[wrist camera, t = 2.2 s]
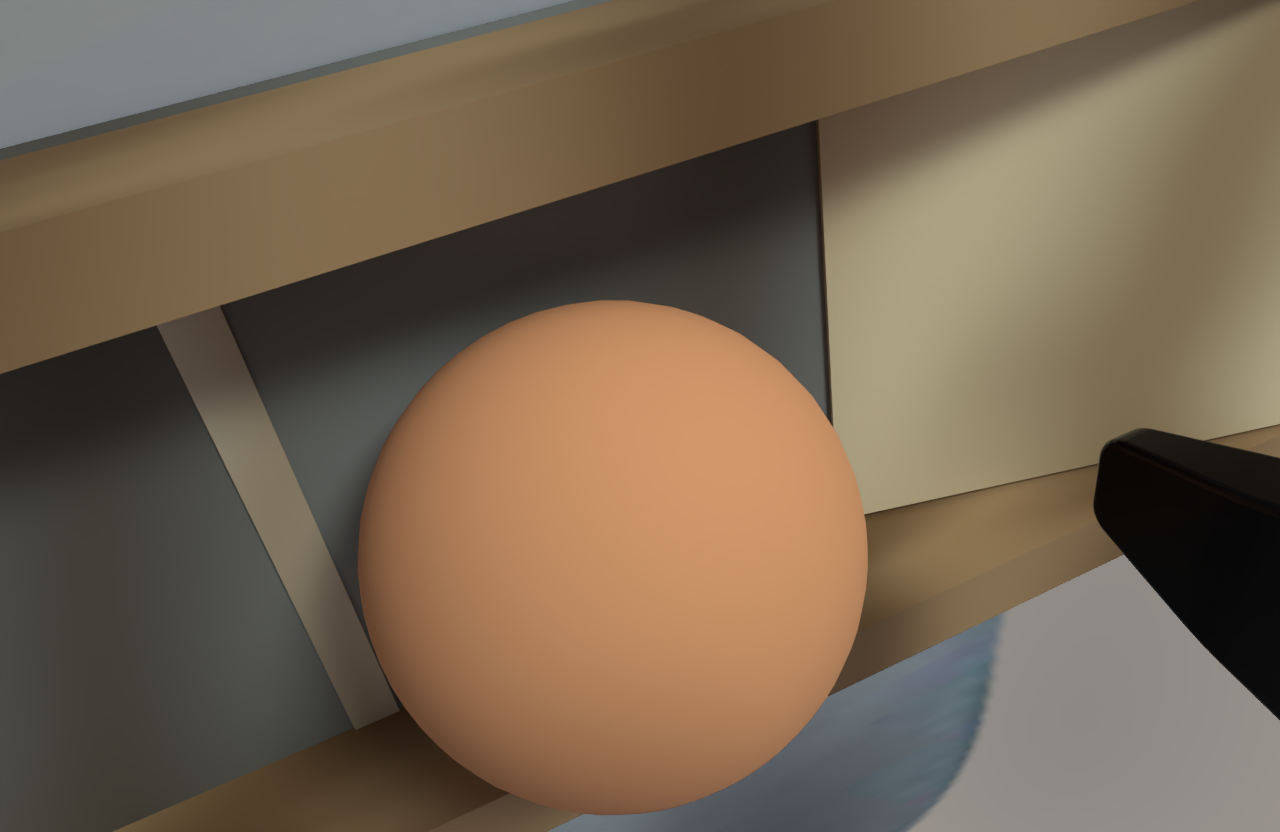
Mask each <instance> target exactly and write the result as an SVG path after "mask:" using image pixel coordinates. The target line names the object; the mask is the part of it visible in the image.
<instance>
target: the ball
mask: <svg viewBox="0 0 1280 832" xmlns="http://www.w3.org/2000/svg"><path fill="white" fill-rule="evenodd" d="M867 572H868V544H867V530H866V521H865V516H864V511H863V506H862V501H861V497H860V493H859V488H858V484H857V480H856V477H855V474H854V472H853V469H852V467H851V465H850V462H849V460H848V457H847V455H846V452H845V450H844V448H843V446H842V443H841V441H840V439H839V436H838V434H837V433H836V431H835V430H834V428H833V427H832V425H831V424H830V422H829V420H828V419H827V417H826V416H825V414H824V413H823V411H822V410H821V408H820V407H819V405H818V404H817V402H816V401H815V399H814V398H813V396H812V395H811V394H810V393H809V392H808V391H807V390H806V389H805V388H804V387H803V386H802V385H801V383H800V382H799V381H798V380H797V379H796V378H795V377H794V376H793V375H792V374H791V373H790V372H789V371H788V370H787V369H786V368H785V367H784V366H783V365H782V364H781V363H780V362H779V361H778V360H777V359H775V358H774V357H772V356H771V355H770V354H768V353H767V352H765V351H764V350H763V349H761V348H760V347H758V346H757V345H755V344H754V343H753V342H751V341H750V340H748V339H747V338H745V337H744V336H743V335H741V334H739V333H737V332H735V331H733V330H731V329H729V328H727V327H725V326H723V325H721V324H719V323H717V322H715V321H712V320H710V319H707V318H705V317H703V316H700V315H698V314H694V313H691V312H688V311H684V310H681V309H678V308H674V307H670V306H663V305H657V304H650V303H643V302H636V301H628V300H600V301H591V302H583V303H575V304H569V305H563V306H559V307H555V308H551V309H547V310H543V311H539V312H535V313H533V314H530V315H527V316H525V317H522V318H520V319H517V320H514V321H512V322H509V323H507V324H505V325H503V326H501V327H499V328H498V329H496V330H494V331H492V332H490V333H488V334H486V335H484V336H483V337H481V338H480V339H478V340H477V341H475V342H474V343H472V344H471V345H469V346H468V347H466V348H465V349H463V350H462V351H460V352H459V353H458V354H457V355H455V356H454V357H453V358H452V359H451V360H450V361H448V362H447V363H446V364H445V365H444V366H443V367H441V368H440V369H439V370H438V371H437V372H436V373H435V374H434V375H433V376H432V377H431V378H430V380H429V381H428V382H427V383H426V384H425V385H424V386H423V387H422V388H421V389H420V390H419V391H418V393H417V394H416V396H415V397H414V398H413V400H412V401H411V402H410V404H409V405H408V407H407V408H406V409H405V411H404V412H403V414H402V415H401V416H400V418H399V419H398V421H397V422H396V423H395V425H394V427H393V429H392V431H391V432H390V434H389V436H388V438H387V440H386V442H385V444H384V445H383V447H382V449H381V451H380V454H379V457H378V459H377V462H376V465H375V467H374V470H373V473H372V475H371V478H370V482H369V485H368V488H367V492H366V496H365V500H364V505H363V510H362V514H361V519H360V530H359V547H358V578H359V587H360V596H361V602H362V607H363V613H364V618H365V622H366V625H367V629H368V632H369V635H370V639H371V642H372V645H373V647H374V650H375V652H376V655H377V658H378V660H379V663H380V665H381V667H382V669H383V671H384V673H385V675H386V677H387V679H388V681H389V683H390V685H391V687H392V689H393V690H394V692H395V693H396V695H397V696H398V698H399V699H400V701H401V702H402V704H403V705H404V707H405V708H406V710H407V711H408V712H409V714H410V715H411V716H412V718H413V719H414V720H415V721H416V723H417V724H418V725H419V726H420V728H421V729H422V730H423V731H424V732H425V733H426V734H427V735H428V736H429V737H430V738H431V739H432V740H433V741H434V742H435V743H436V744H437V745H438V746H439V747H440V748H441V749H442V750H443V751H444V752H446V753H447V754H448V755H449V756H450V757H451V758H452V759H454V760H455V761H456V762H457V763H459V764H460V765H462V766H463V767H465V768H466V769H468V770H469V771H471V772H472V773H473V774H475V775H476V776H478V777H480V778H481V779H483V780H485V781H486V782H488V783H490V784H491V785H493V786H495V787H497V788H499V789H501V790H504V791H506V792H508V793H511V794H513V795H516V796H518V797H520V798H523V799H525V800H528V801H531V802H533V803H536V804H538V805H543V806H547V807H551V808H556V809H560V810H566V811H571V812H576V813H583V814H594V815H623V814H641V813H648V812H655V811H661V810H665V809H670V808H674V807H678V806H681V805H684V804H687V803H690V802H693V801H696V800H699V799H701V798H704V797H706V796H709V795H711V794H713V793H716V792H718V791H720V790H723V789H725V788H727V787H728V786H730V785H732V784H734V783H736V782H738V781H740V780H741V779H743V778H745V777H746V776H748V775H749V774H751V773H753V772H754V771H756V770H757V769H758V768H760V767H761V766H763V765H764V764H765V763H767V762H768V761H769V760H770V759H772V758H773V757H774V756H775V755H776V754H778V753H779V752H780V751H781V750H782V749H783V748H784V747H785V746H786V745H787V744H788V743H789V742H790V741H791V740H792V739H793V738H794V737H795V736H796V735H797V734H798V733H799V732H800V731H801V730H802V729H803V728H804V726H805V725H806V724H807V723H808V722H809V721H810V719H811V718H812V717H813V716H814V715H815V713H816V712H817V711H818V709H819V708H820V706H821V705H822V704H823V702H824V701H825V700H826V698H827V696H828V695H829V693H830V691H831V690H832V688H833V686H834V685H835V683H836V681H837V679H838V677H839V674H840V672H841V670H842V668H843V666H844V664H845V662H846V659H847V657H848V655H849V653H850V650H851V648H852V645H853V642H854V639H855V636H856V633H857V631H858V626H859V622H860V617H861V613H862V608H863V602H864V597H865V592H866V584H867Z"/></svg>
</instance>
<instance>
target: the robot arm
mask: <svg viewBox="0 0 1280 832" xmlns="http://www.w3.org/2000/svg"><path fill="white" fill-rule="evenodd" d="M1093 509H1094V514H1095V516H1096V519H1097V521H1098V523H1099V525H1100V526H1101V528H1102V529H1103V530H1104V532H1105V533H1106V534H1107V535H1108V536H1109V537H1110V539H1111V540H1112V541H1113V542H1114V543H1115V544H1116V546H1117V547H1118V548H1119V549H1120V550H1121V551H1122V553H1123V554H1124V555H1125V556H1126V557H1127V558H1128V560H1129V561H1130V562H1131V563H1132V564H1133V565H1134V567H1135V568H1136V569H1137V570H1138V571H1139V572H1140V574H1141V575H1142V576H1143V577H1144V578H1145V579H1146V580H1147V582H1148V583H1149V584H1150V585H1151V586H1152V587H1153V589H1154V590H1155V591H1156V592H1157V593H1158V594H1159V596H1160V597H1161V598H1162V599H1163V600H1164V601H1165V603H1166V604H1167V605H1168V606H1169V607H1170V609H1171V610H1172V611H1173V612H1174V613H1175V614H1176V615H1177V617H1178V618H1179V619H1180V620H1181V621H1182V623H1183V624H1184V625H1185V626H1186V627H1187V628H1188V629H1189V630H1190V632H1191V633H1192V634H1193V635H1194V636H1195V637H1196V638H1197V639H1198V640H1199V641H1200V643H1201V644H1202V645H1203V646H1204V647H1205V648H1206V649H1207V650H1208V651H1209V652H1210V653H1211V654H1212V655H1213V656H1214V657H1215V658H1216V659H1217V660H1218V661H1219V662H1220V663H1221V664H1222V665H1223V666H1224V667H1225V668H1226V669H1227V670H1228V671H1229V672H1230V673H1231V674H1232V675H1233V676H1234V677H1235V678H1236V679H1237V680H1238V681H1240V682H1241V683H1242V684H1243V685H1244V686H1245V687H1246V688H1247V689H1248V690H1249V691H1250V692H1251V693H1252V694H1253V695H1254V696H1255V697H1256V698H1257V699H1258V700H1259V701H1260V702H1261V703H1262V704H1263V705H1264V706H1266V707H1267V708H1268V709H1269V710H1270V711H1271V712H1272V713H1273V714H1274V715H1275V716H1276V717H1277V718H1278V719H1279V720H1280V458H1279V457H1275V456H1270V455H1266V454H1261V453H1257V452H1253V451H1248V450H1244V449H1239V448H1235V447H1230V446H1226V445H1221V444H1217V443H1212V442H1208V441H1204V440H1199V439H1195V438H1190V437H1186V436H1181V435H1177V434H1172V433H1168V432H1163V431H1159V430H1155V429H1150V428H1139V429H1134V430H1132V431H1129V432H1127V433H1125V434H1122V435H1120V436H1118V437H1116V438H1113V439H1111V440H1109V441H1108V442H1106V443H1105V445H1104V446H1103V447H1102V449H1101V452H1100V456H1099V463H1098V470H1097V478H1096V485H1095V492H1094V499H1093Z"/></svg>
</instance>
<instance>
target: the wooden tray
mask: <svg viewBox="0 0 1280 832" xmlns="http://www.w3.org/2000/svg"><path fill="white" fill-rule="evenodd" d="M600 300H628V301H636V302H643V303H650V304H657V305H663V306H670V307H674V308H678V309H681V310H684V311H688V312H691V313H694V314H698V315H700V316H703V317H705V318H707V319H710V320H712V321H715V322H717V323H719V324H721V325H723V326H725V327H727V328H729V329H731V330H733V331H735V332H737V333H739V334H741V335H743V336H744V337H745V338H747V339H748V340H750V341H751V342H753V343H754V344H755V345H757V346H758V347H760V348H761V349H763V350H764V351H765V352H767V353H768V354H770V355H771V356H772V357H774V358H775V359H777V360H778V361H779V362H780V363H781V364H782V365H783V366H784V367H785V368H786V369H787V370H788V371H789V372H790V373H791V374H792V375H793V376H794V377H795V378H796V379H797V380H798V381H799V382H800V383H801V385H802V386H803V387H804V388H805V389H806V390H807V391H808V392H809V393H810V394H811V395H812V396H813V398H814V399H815V401H816V402H817V404H818V405H819V407H820V408H821V410H822V411H823V413H824V414H825V416H826V417H827V419H828V420H829V422H830V424H831V425H832V427H833V428H834V430H835V431H836V433H837V434H838V436H839V439H840V441H841V443H842V446H843V448H844V450H845V452H846V455H847V457H848V460H849V462H850V465H851V467H852V469H853V472H854V474H855V477H856V480H857V484H858V488H859V493H860V497H861V501H862V506H863V511H864V516H865V521H866V530H867V544H868V572H867V584H866V592H865V597H864V602H863V608H862V613H861V617H860V622H859V626H858V631H857V633H856V636H855V639H854V642H853V645H852V648H851V650H850V653H849V655H848V657H847V659H846V662H845V664H844V666H843V668H842V670H841V672H840V674H839V677H838V679H837V681H836V683H835V685H834V686H833V688H832V690H831V691H830V693H829V695H828V696H830V695H832V694H834V693H836V692H838V691H840V690H842V689H844V688H846V687H848V686H851V685H853V684H855V683H857V682H859V681H861V680H863V679H865V678H867V677H869V676H871V675H873V674H876V673H878V672H880V671H882V670H884V669H886V668H888V667H890V666H892V665H894V664H896V663H898V662H901V661H903V660H905V659H907V658H909V657H911V656H913V655H915V654H917V653H919V652H921V651H923V650H926V649H928V648H930V647H932V646H934V645H936V644H938V643H940V642H942V641H944V640H946V639H948V638H951V637H953V636H955V635H957V634H959V633H961V632H963V631H965V630H967V629H969V628H971V627H973V626H976V625H978V624H980V623H982V622H984V621H986V620H988V619H990V618H992V617H994V616H996V615H998V614H1001V613H1003V612H1005V611H1007V610H1009V609H1011V608H1013V607H1015V606H1017V605H1019V604H1021V603H1023V602H1026V601H1027V600H1030V599H1032V598H1034V597H1036V596H1038V595H1040V594H1042V593H1044V592H1046V591H1048V590H1051V589H1053V588H1055V587H1057V586H1059V585H1061V584H1063V583H1065V582H1067V581H1069V580H1071V579H1073V578H1075V577H1078V576H1080V575H1082V574H1084V573H1086V572H1088V571H1090V570H1092V569H1094V568H1096V567H1098V566H1101V565H1103V564H1105V563H1107V562H1109V561H1111V560H1113V559H1115V558H1117V557H1119V556H1121V555H1123V553H1122V551H1121V550H1120V549H1119V548H1118V547H1117V546H1116V544H1115V543H1114V542H1113V541H1112V540H1111V539H1110V537H1109V536H1108V535H1107V534H1106V533H1105V532H1104V530H1103V529H1102V528H1101V526H1100V525H1099V523H1098V521H1097V519H1096V516H1095V514H1094V509H1093V499H1094V492H1095V485H1096V478H1097V470H1098V463H1099V456H1100V452H1101V449H1102V447H1103V446H1104V445H1105V443H1106V442H1108V441H1109V440H1111V439H1113V438H1116V437H1118V436H1120V435H1122V434H1125V433H1127V432H1129V431H1132V430H1134V429H1139V428H1150V429H1155V430H1159V431H1163V432H1168V433H1172V434H1177V435H1181V436H1186V437H1190V438H1195V439H1199V440H1204V441H1208V442H1212V443H1217V444H1221V445H1226V446H1230V447H1235V448H1239V449H1244V450H1248V451H1253V452H1257V453H1261V454H1266V455H1270V456H1275V457H1279V458H1280V0H575V1H572V2H568V3H564V4H560V5H556V6H552V7H548V8H545V9H541V10H537V11H533V12H529V13H525V14H521V15H517V16H514V17H510V18H506V19H502V20H498V21H494V22H490V23H486V24H483V25H479V26H475V27H471V28H467V29H463V30H459V31H456V32H452V33H448V34H444V35H440V36H436V37H432V38H428V39H425V40H421V41H417V42H413V43H409V44H405V45H401V46H398V47H394V48H390V49H386V50H382V51H378V52H374V53H370V54H367V55H363V56H359V57H355V58H351V59H347V60H343V61H339V62H336V63H332V64H328V65H324V66H320V67H316V68H312V69H309V70H305V71H301V72H297V73H293V74H289V75H285V76H281V77H278V78H274V79H270V80H266V81H262V82H258V83H254V84H251V85H247V86H243V87H239V88H235V89H231V90H227V91H223V92H220V93H216V94H212V95H208V96H204V97H200V98H196V99H192V100H189V101H185V102H181V103H177V104H173V105H169V106H165V107H162V108H158V109H154V110H150V111H146V112H142V113H138V114H134V115H131V116H127V117H123V118H119V119H115V120H111V121H107V122H104V123H100V124H96V125H92V126H88V127H84V128H80V129H76V130H73V131H69V132H65V133H61V134H57V135H53V136H49V137H45V138H42V139H38V140H34V141H30V142H26V143H22V144H18V145H15V146H11V147H7V148H3V149H0V832H547V831H549V830H551V829H553V828H555V827H557V826H559V825H561V824H563V823H565V822H567V821H569V820H572V819H574V818H576V817H578V816H580V815H582V814H583V813H576V812H571V811H566V810H560V809H556V808H551V807H547V806H543V805H538V804H536V803H533V802H531V801H528V800H525V799H523V798H520V797H518V796H516V795H513V794H511V793H508V792H506V791H504V790H501V789H499V788H497V787H495V786H493V785H491V784H490V783H488V782H486V781H485V780H483V779H481V778H480V777H478V776H476V775H475V774H473V773H472V772H471V771H469V770H468V769H466V768H465V767H463V766H462V765H460V764H459V763H457V762H456V761H455V760H454V759H452V758H451V757H450V756H449V755H448V754H447V753H446V752H444V751H443V750H442V749H441V748H440V747H439V746H438V745H437V744H436V743H435V742H434V741H433V740H432V739H431V738H430V737H429V736H428V735H427V734H426V733H425V732H424V731H423V730H422V729H421V728H420V726H419V725H418V724H417V723H416V721H415V720H414V719H413V718H412V716H411V715H410V714H409V712H408V711H407V710H406V708H405V707H404V705H403V704H402V702H401V701H400V699H399V698H398V696H397V695H396V693H395V692H394V690H393V689H392V687H391V685H390V683H389V681H388V679H387V677H386V675H385V673H384V671H383V669H382V667H381V665H380V663H379V660H378V658H377V655H376V652H375V650H374V647H373V645H372V642H371V639H370V635H369V632H368V629H367V625H366V622H365V618H364V613H363V607H362V602H361V596H360V587H359V578H358V547H359V530H360V519H361V514H362V510H363V505H364V500H365V496H366V492H367V488H368V485H369V482H370V478H371V475H372V473H373V470H374V467H375V465H376V462H377V459H378V457H379V454H380V451H381V449H382V447H383V445H384V444H385V442H386V440H387V438H388V436H389V434H390V432H391V431H392V429H393V427H394V425H395V423H396V422H397V421H398V419H399V418H400V416H401V415H402V414H403V412H404V411H405V409H406V408H407V407H408V405H409V404H410V402H411V401H412V400H413V398H414V397H415V396H416V394H417V393H418V391H419V390H420V389H421V388H422V387H423V386H424V385H425V384H426V383H427V382H428V381H429V380H430V378H431V377H432V376H433V375H434V374H435V373H436V372H437V371H438V370H439V369H440V368H441V367H443V366H444V365H445V364H446V363H447V362H448V361H450V360H451V359H452V358H453V357H454V356H455V355H457V354H458V353H459V352H460V351H462V350H463V349H465V348H466V347H468V346H469V345H471V344H472V343H474V342H475V341H477V340H478V339H480V338H481V337H483V336H484V335H486V334H488V333H490V332H492V331H494V330H496V329H498V328H499V327H501V326H503V325H505V324H507V323H509V322H512V321H514V320H517V319H520V318H522V317H525V316H527V315H530V314H533V313H535V312H539V311H543V310H547V309H551V308H555V307H559V306H563V305H569V304H575V303H583V302H591V301H600ZM828 696H827V697H828Z"/></svg>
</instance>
